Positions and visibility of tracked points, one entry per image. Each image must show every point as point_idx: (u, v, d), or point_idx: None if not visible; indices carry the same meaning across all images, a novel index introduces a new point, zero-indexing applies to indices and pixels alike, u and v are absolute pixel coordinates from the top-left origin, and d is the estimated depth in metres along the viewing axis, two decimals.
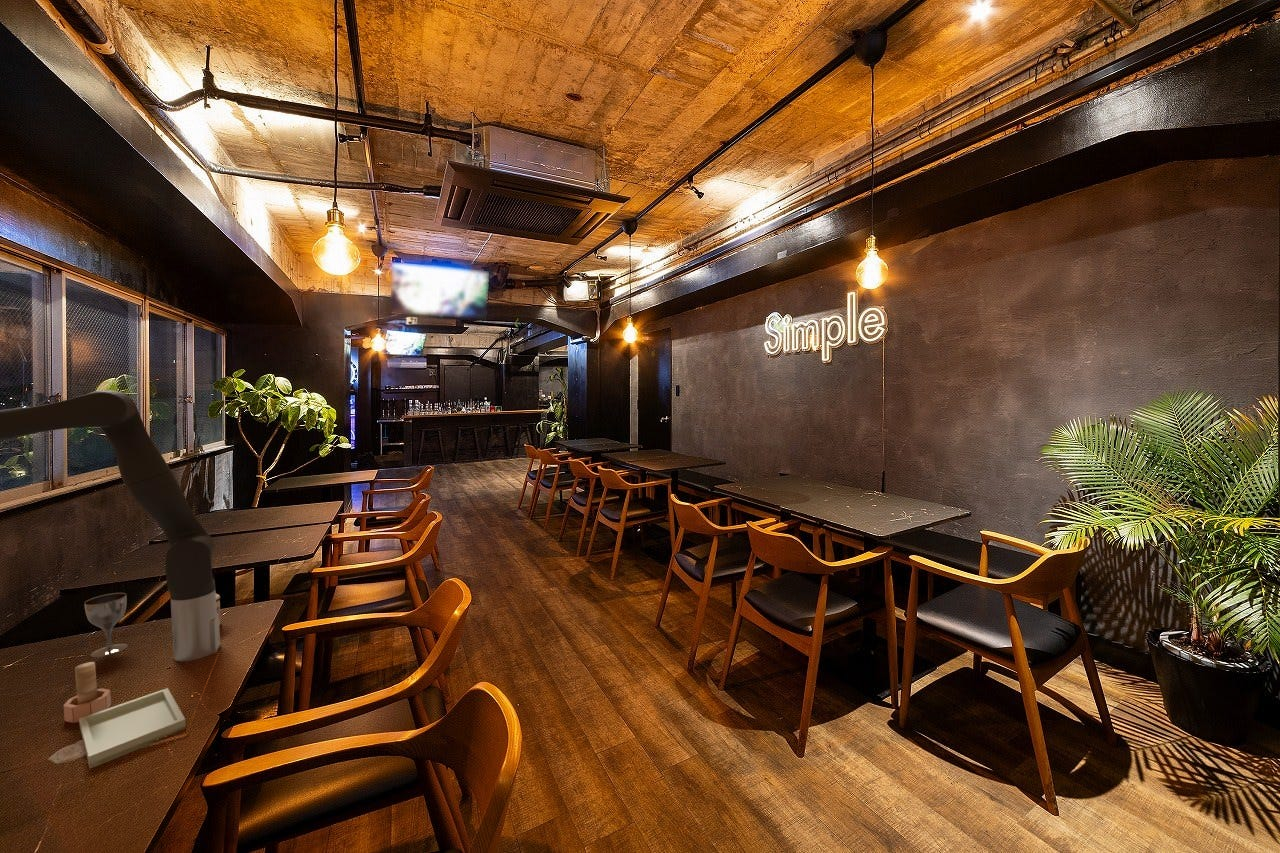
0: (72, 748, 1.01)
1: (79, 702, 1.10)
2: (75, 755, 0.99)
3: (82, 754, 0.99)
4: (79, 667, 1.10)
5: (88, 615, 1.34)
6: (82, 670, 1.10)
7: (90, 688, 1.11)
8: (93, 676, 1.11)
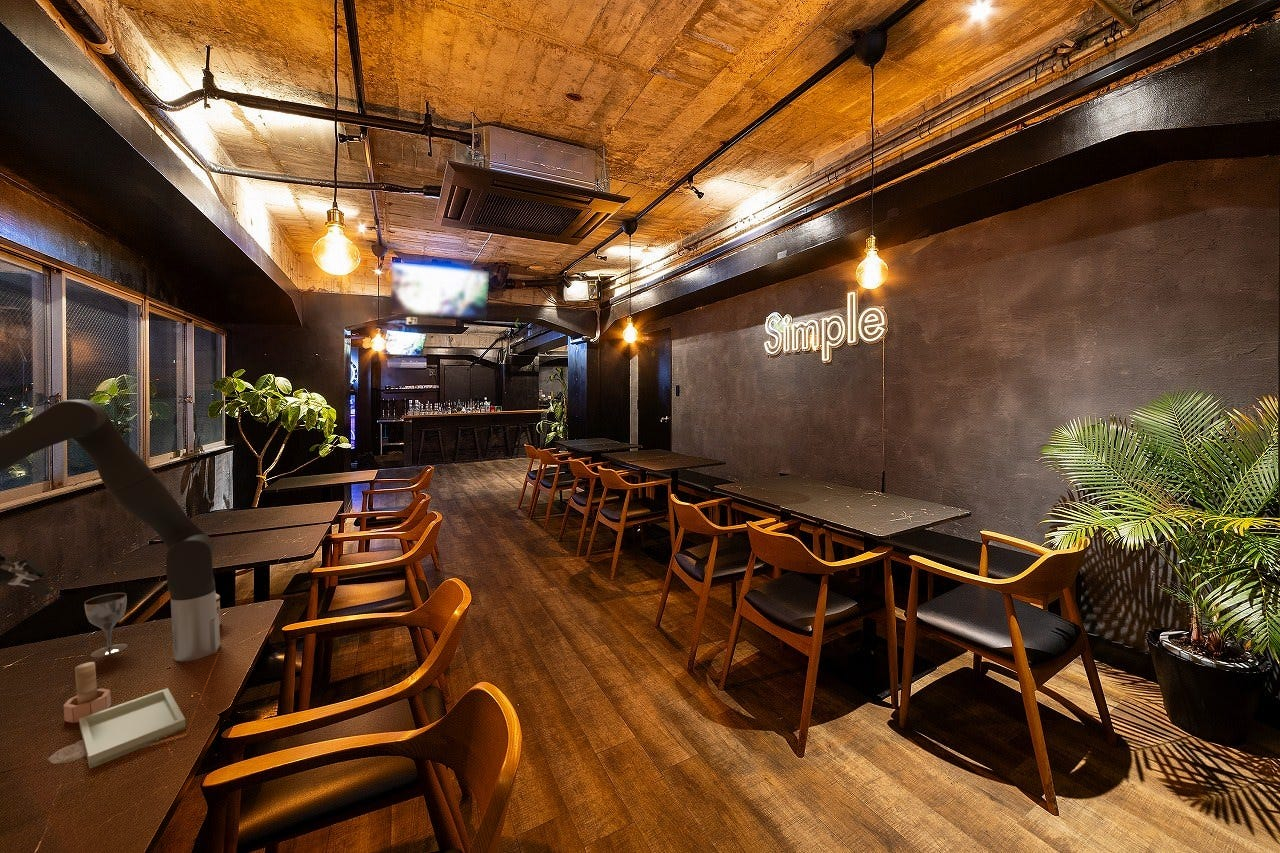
0: (72, 748, 1.01)
1: (79, 702, 1.10)
2: (75, 755, 0.99)
3: (82, 754, 0.99)
4: (79, 667, 1.10)
5: (88, 615, 1.34)
6: (82, 670, 1.10)
7: (90, 688, 1.11)
8: (93, 676, 1.11)
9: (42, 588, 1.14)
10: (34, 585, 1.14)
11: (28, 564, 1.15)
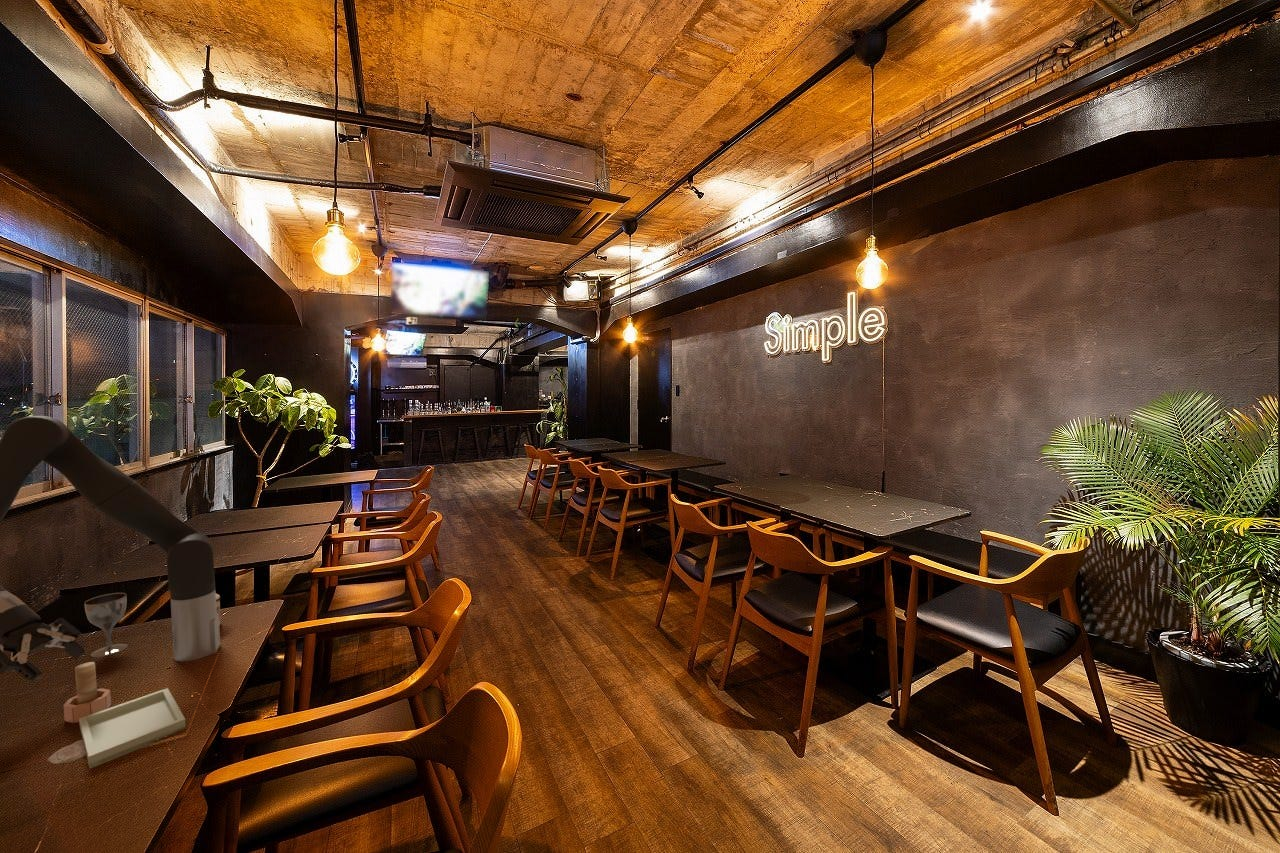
0: (72, 748, 1.01)
1: (79, 702, 1.10)
2: (76, 755, 0.99)
3: (83, 753, 0.99)
4: (79, 667, 1.10)
5: (88, 615, 1.34)
6: (82, 670, 1.10)
7: (90, 688, 1.11)
8: (93, 676, 1.11)
9: (78, 649, 1.15)
10: (70, 647, 1.14)
11: (63, 625, 1.16)
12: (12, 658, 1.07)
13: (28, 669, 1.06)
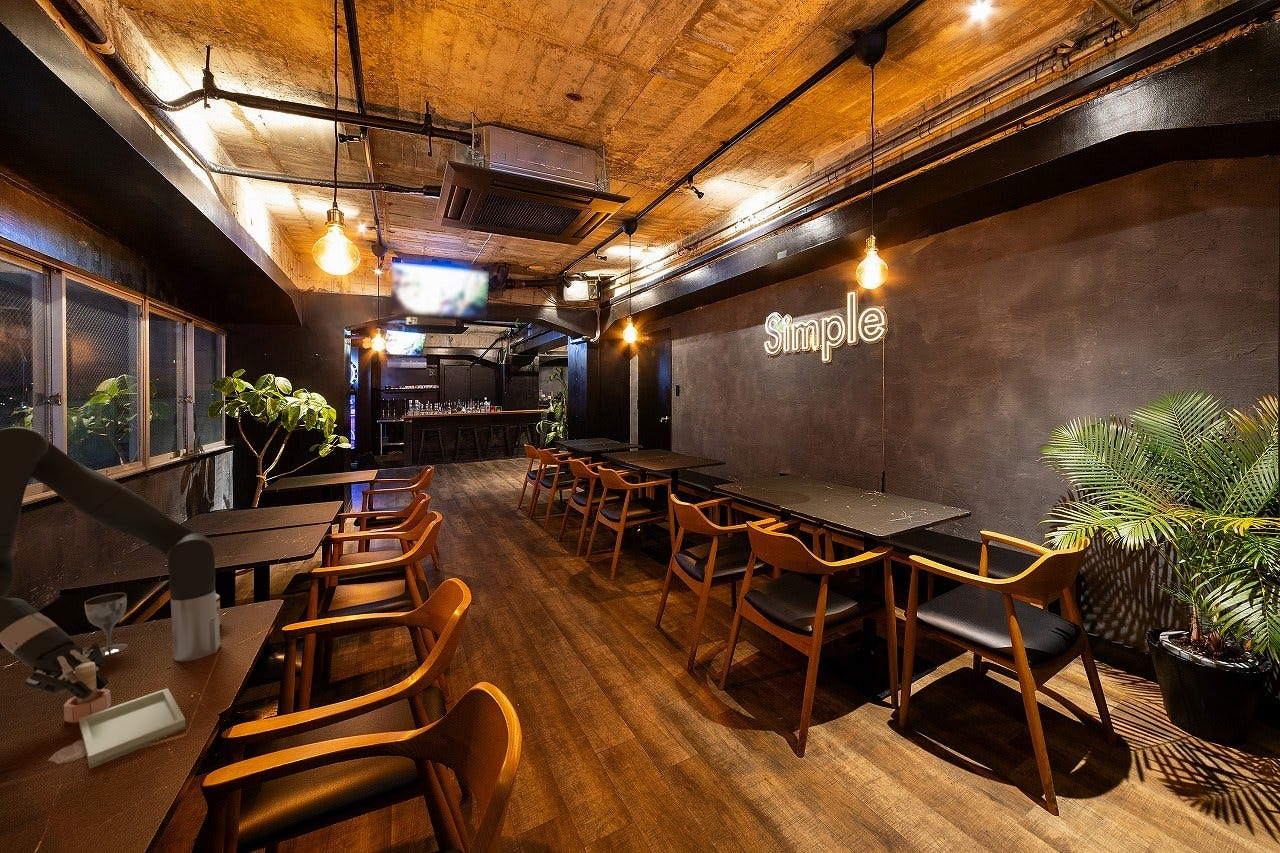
0: (71, 749, 1.00)
1: (79, 702, 1.10)
2: (77, 754, 0.99)
3: (84, 753, 0.99)
4: (79, 667, 1.10)
5: (88, 615, 1.34)
6: (82, 670, 1.10)
7: (90, 688, 1.11)
8: (93, 676, 1.11)
9: (101, 680, 1.13)
10: None
11: (94, 651, 1.16)
12: None
13: (79, 687, 1.09)
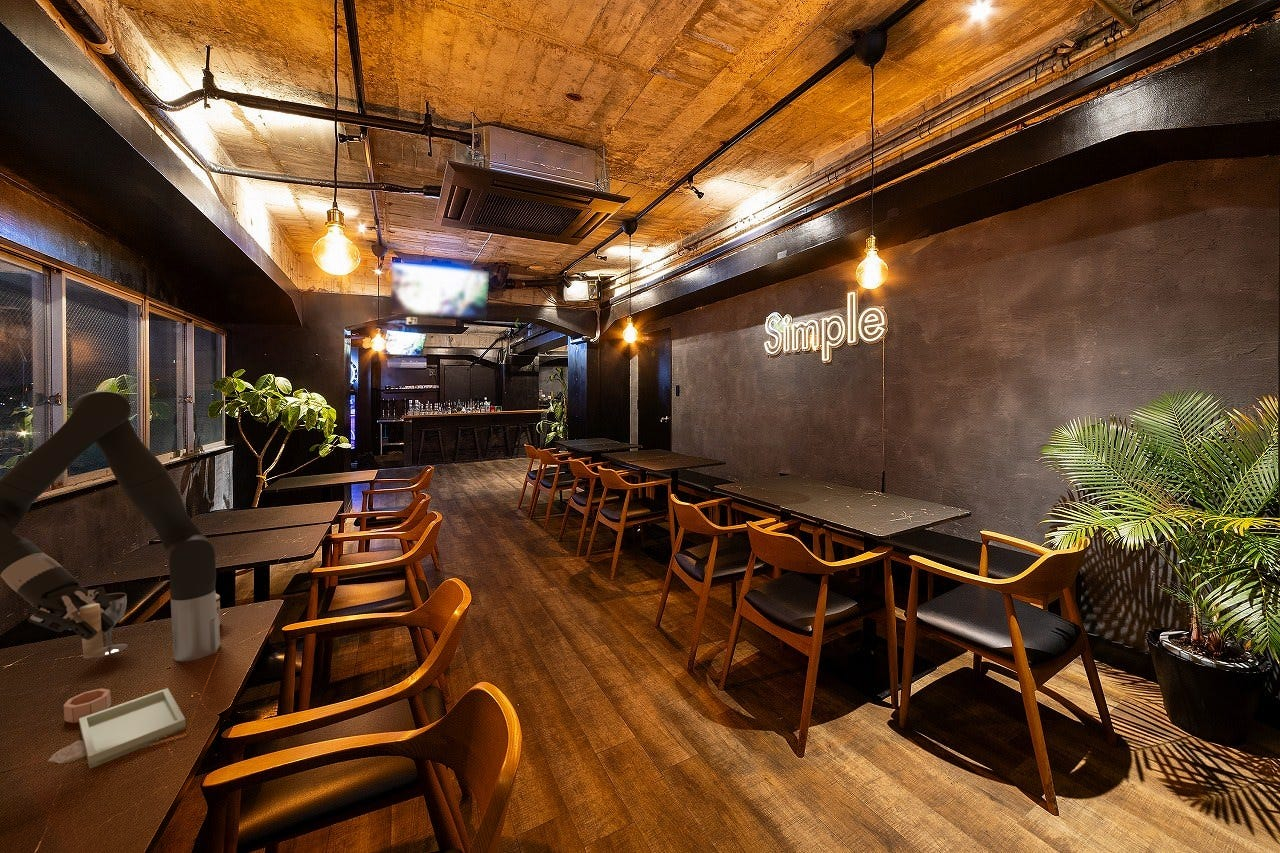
0: (70, 749, 1.00)
1: (84, 643, 1.08)
2: (78, 754, 0.99)
3: (85, 752, 0.99)
4: (83, 607, 1.08)
5: None
6: (87, 610, 1.07)
7: (95, 629, 1.09)
8: (98, 617, 1.09)
9: (107, 622, 1.11)
10: None
11: (99, 594, 1.13)
12: None
13: (83, 628, 1.07)
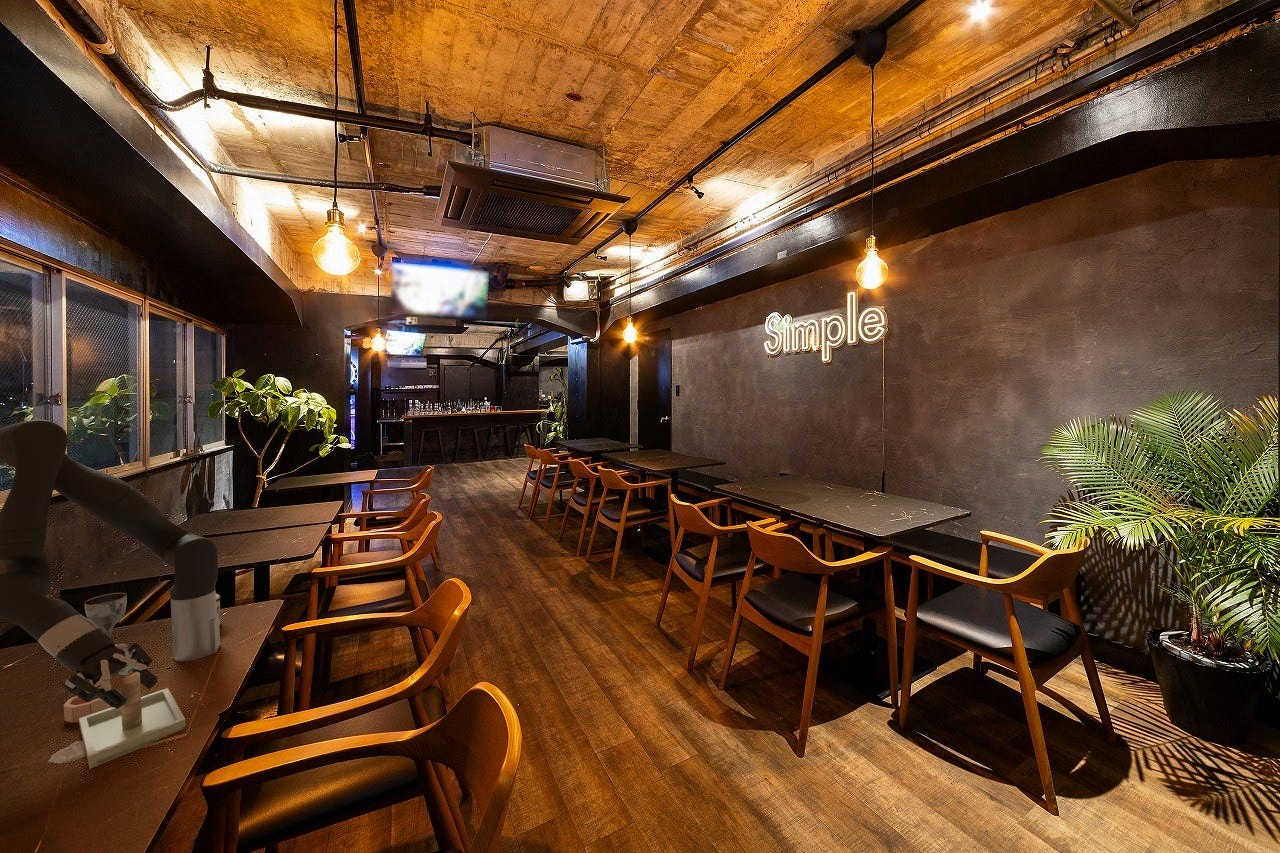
0: (70, 749, 1.00)
1: (123, 714, 1.05)
2: (79, 753, 0.99)
3: None
4: (124, 677, 1.06)
5: (88, 615, 1.34)
6: (127, 680, 1.05)
7: (135, 699, 1.06)
8: (138, 687, 1.07)
9: (150, 678, 1.10)
10: (143, 675, 1.09)
11: (137, 651, 1.11)
12: (93, 686, 1.03)
13: (113, 696, 1.03)
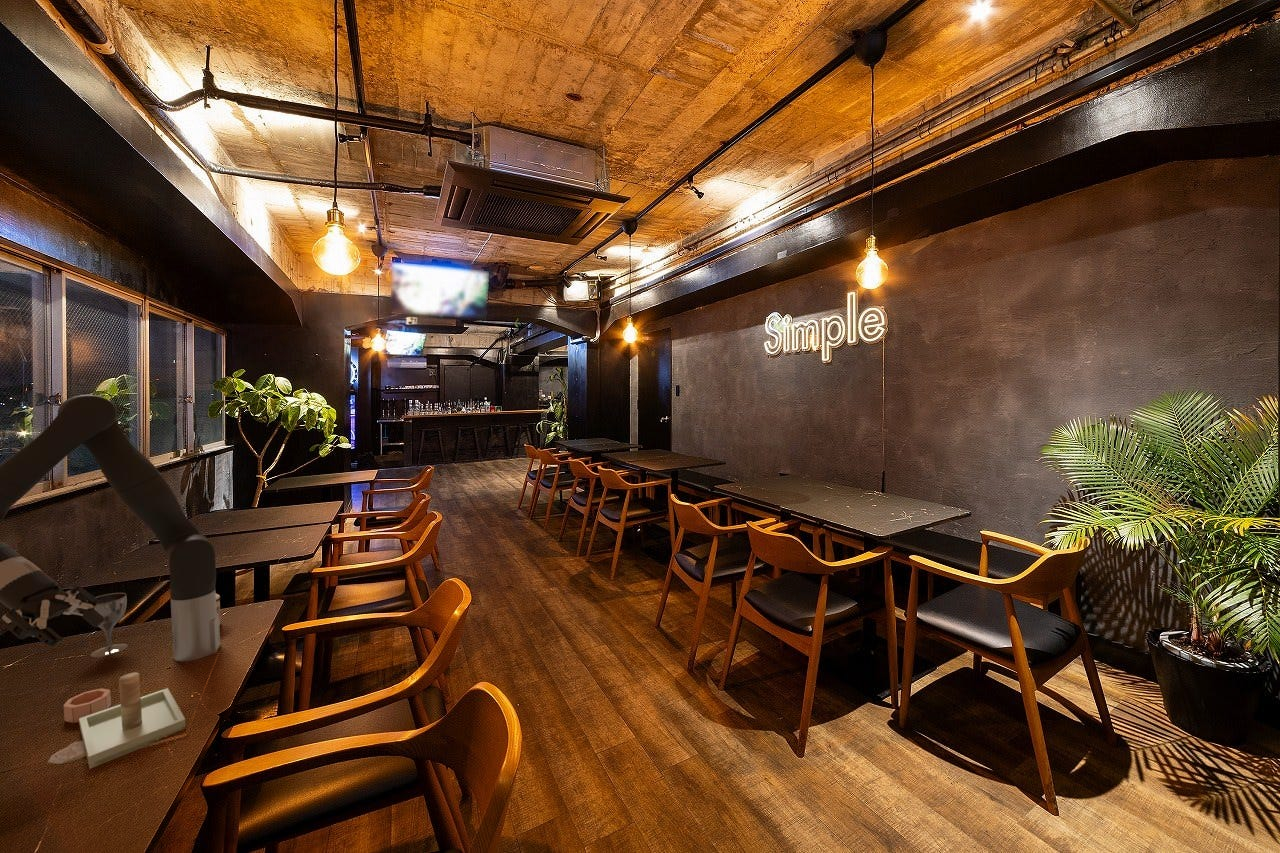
0: (70, 750, 1.00)
1: (123, 715, 1.05)
2: (81, 753, 0.99)
3: None
4: (123, 678, 1.05)
5: None
6: (127, 681, 1.05)
7: (134, 700, 1.06)
8: (137, 687, 1.07)
9: (97, 617, 1.12)
10: (89, 614, 1.11)
11: (81, 592, 1.13)
12: (31, 624, 1.04)
13: (48, 634, 1.03)
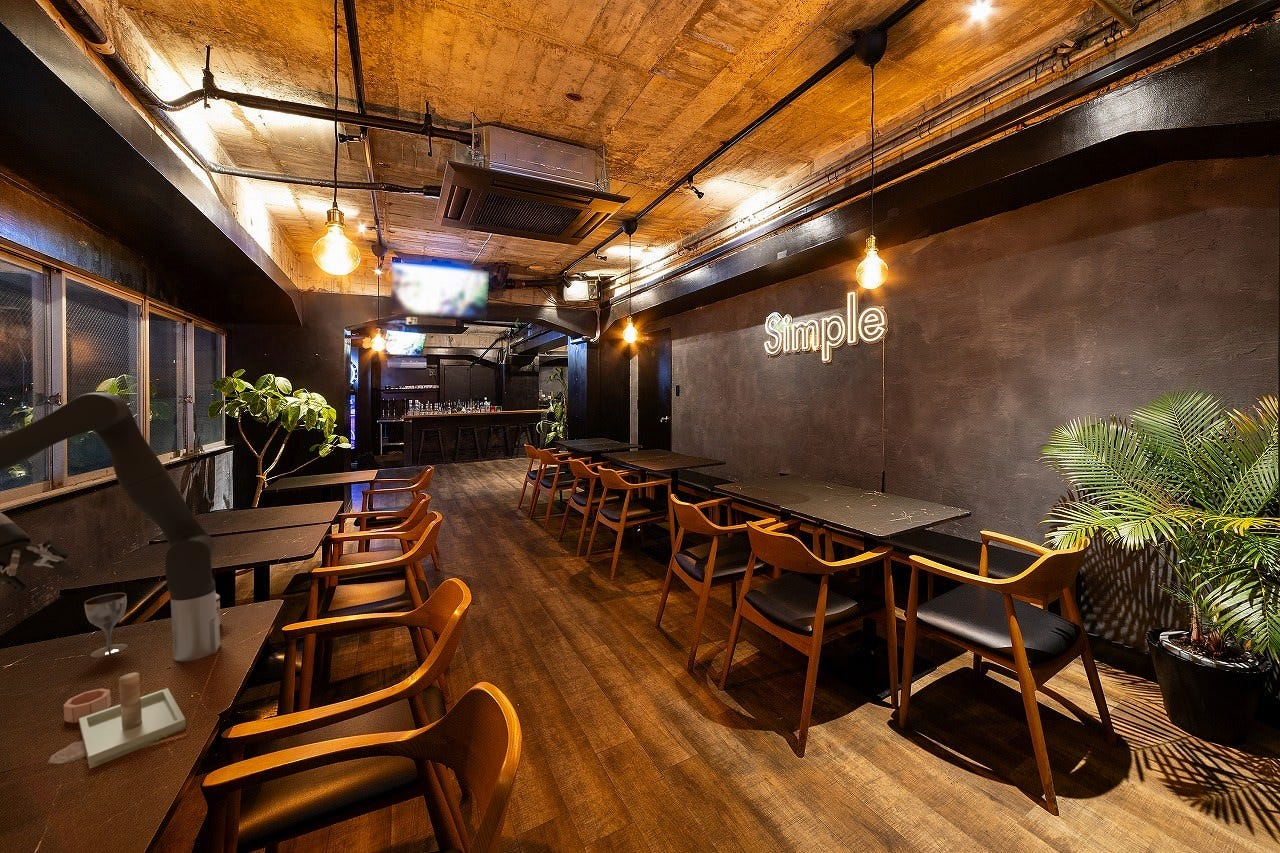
0: (69, 750, 1.00)
1: (123, 715, 1.05)
2: (81, 752, 0.99)
3: None
4: (123, 678, 1.05)
5: (88, 615, 1.34)
6: (126, 681, 1.05)
7: (134, 700, 1.06)
8: (137, 687, 1.07)
9: (66, 569, 1.18)
10: (58, 566, 1.18)
11: (52, 546, 1.19)
12: (1, 571, 1.10)
13: (17, 581, 1.09)
